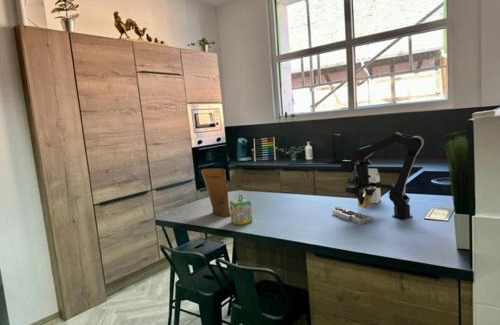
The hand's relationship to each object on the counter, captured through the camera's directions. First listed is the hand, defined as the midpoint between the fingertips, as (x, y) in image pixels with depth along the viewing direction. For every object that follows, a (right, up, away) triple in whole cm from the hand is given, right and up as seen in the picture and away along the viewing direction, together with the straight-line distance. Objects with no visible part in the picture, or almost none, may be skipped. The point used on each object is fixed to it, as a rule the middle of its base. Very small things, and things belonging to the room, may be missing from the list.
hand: (364, 203), depth 170 cm
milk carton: (+12, -2, +22) cm, 25 cm away
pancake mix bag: (-76, -10, +27) cm, 81 cm away
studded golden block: (0, -2, 0) cm, 2 cm away
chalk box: (-62, -11, +9) cm, 64 cm away
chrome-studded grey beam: (-8, -7, -3) cm, 11 cm away
